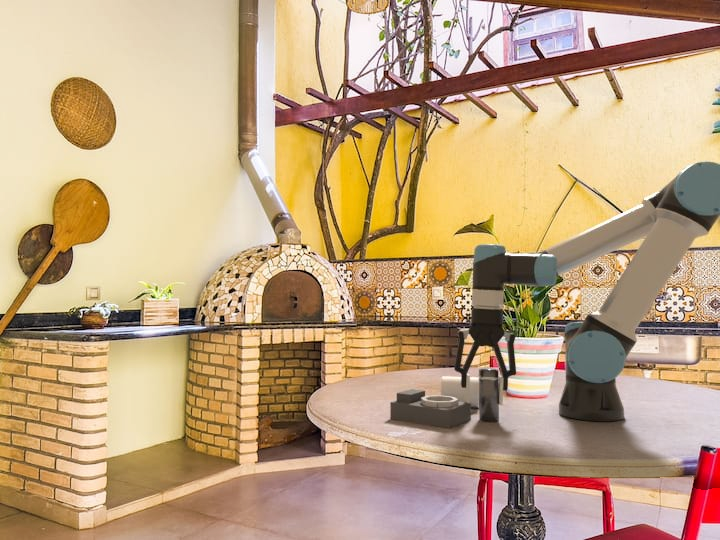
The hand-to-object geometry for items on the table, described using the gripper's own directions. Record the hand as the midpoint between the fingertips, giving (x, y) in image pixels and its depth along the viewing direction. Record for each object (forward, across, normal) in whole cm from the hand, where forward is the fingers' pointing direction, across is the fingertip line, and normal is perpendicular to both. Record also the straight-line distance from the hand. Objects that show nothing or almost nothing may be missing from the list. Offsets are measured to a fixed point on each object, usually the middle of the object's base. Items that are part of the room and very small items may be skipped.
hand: (483, 402), depth 135 cm
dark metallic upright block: (+4, -2, 0) cm, 4 cm away
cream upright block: (+5, +4, -17) cm, 18 cm away
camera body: (+5, +12, +1) cm, 13 cm away
